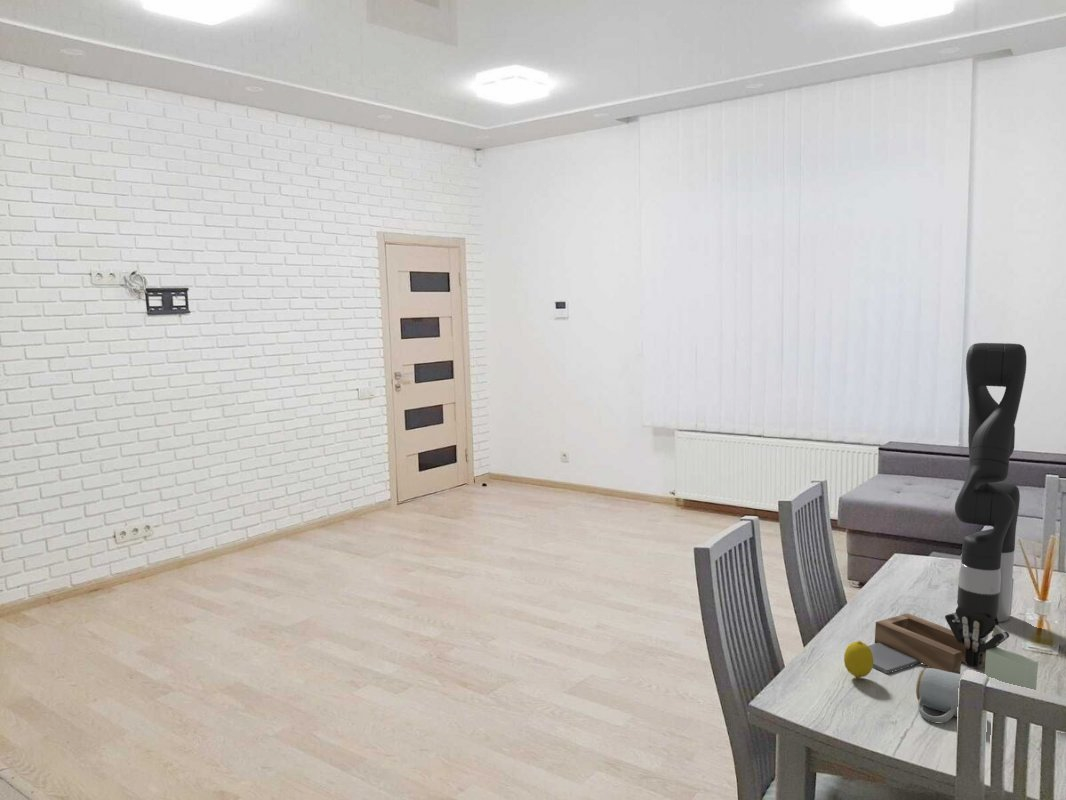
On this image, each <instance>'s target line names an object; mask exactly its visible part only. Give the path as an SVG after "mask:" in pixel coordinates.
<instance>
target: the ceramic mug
mask: <svg viewBox="0 0 1066 800" xmlns="http://www.w3.org/2000/svg"><path fill="white" fill-rule="evenodd" d="M962 675H963V674H962V673H960V674H957V673H952V672H947V671H943V670H939V669H934V668H930V667H925V668H923V669H922V670H921V671H920V672H919V674H918V677H917V681H916V685H915V686H916V687H915V694H916V698H917V700H918V703H917V707H918V712H919V715H920V716H921V717H922V718H923V719H924V718H925V720H926V721H928V720H929V721H928V722H930V721H933V722H943V723H946V722H948V721H950V720H951V719H952V718H953V717H955V718H958V717H957V707H958V688H959V681H960V678H961V676H962ZM923 705H924V706H925V707H927V708H930V709H933V710H936V711H939V712H941V711H942V712H941V713H944V712H945V713H944V714H942V715H938V716H937V715H936V716H933V715H930V714H928V713H927V712H925V711H924V710H923V709H922V707H923ZM953 715H955V716H953ZM933 722H932V723H933Z"/></svg>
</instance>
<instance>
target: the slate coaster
mask: <svg viewBox="0 0 1066 800" xmlns="http://www.w3.org/2000/svg"><path fill="white" fill-rule="evenodd" d="M867 646H868V647H869V648H870V649H871V652H872V655H873V667H872V668H874V669H876V670H877V671H880V670H881V671H880V672H882V671H883V672H882V673H884V672H885V673H884V674H886V673H888V674H890V673H889V672H891V673H893V672H892V671H894V672H896V671H895V670H897V671H899V670H898V669H900V670H902V669H901V668H903V669H906V668H909V667H908V666H910V667H912V666H911V665H913V664H916V665H918V664H919V663H918V662H919V660H917V659H915V658H913V657H910V656H908V655H906V654H904V653H901V652H899V651H897V650H894V649H892V648H890V647H888V646H885V645H883V644H881V643H876V644H875V643H873V644H871V645H867ZM917 663H918V664H917ZM913 666H914V665H913ZM905 667H906V668H905Z"/></svg>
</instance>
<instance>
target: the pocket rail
mask: <svg viewBox="0 0 1066 800" xmlns="http://www.w3.org/2000/svg"><path fill="white" fill-rule="evenodd" d="M874 628H875V631H874V644H875V643H881V644H883V645H885V646H888V647H890V648H892V649H894V650H897V651H899V652H901V653H904V654H906V655H908V656H910V657H913V658H915V659H917V660H919V662H920V663H919V664H921V663H923V664H924V665H923V664H922V665H923V666H925V665H927V666H926V667H927V668H930V667H931V668H934V669H939V670H943V671H947V672H952V673H957V674H961V670H962V669H961V668H962V667H961V666H962V663H963V662H964V664H966V665H967V662H966V661H965V655H966V648H965V646H964V644H962V643H959V642H958V641H957V639H956V638H955V636H954V634H953V632H952V630H951V628H947V627H945V626H942V625H940V624H937V623H935V622H932V621H931V620H930V621H929V620H927V619H924V618H921V617H919V616H916V615H914V614H911V613H909V612H907V613H904V614H900V615H897V616H893V617H889V618H886V619H883V620H878V621H875V627H874ZM985 660H986V652H983V660H982V665H981V666H979V667H978V668H977V669H981V668H985ZM961 661H962V662H961Z"/></svg>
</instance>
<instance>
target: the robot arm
mask: <svg viewBox="0 0 1066 800" xmlns="http://www.w3.org/2000/svg"><path fill="white" fill-rule="evenodd" d="M965 359H966V360H965V372H966V373H965V375H966V384H967V392H968V393H967V394H968V408H969V409H968V429H967V430H968V431H967V432H968V433H967V435H968V440H967V441H968V456H969V464H968V465H969V466H968V471H967V475H966V478H965V480H964V483H963V485H962V487H961V489H960V491H959V493H958V495H957V498H956V501H955V504H954V513H955V515H956V517H957V518H958V520H959V521H960V522H962V523H965V524H969V525H978V526H979V525H980V526H985V527H992V528H990V529H983V530H979V531H976V532H974V533H973V534H972V533H971V534H968V535H966V536H964V537H963V538H962V539H963V541H962V549H961V560H960V561H961V562H960V568H959V572H958V583H957V585H958V586H957V596H956V597H957V600H956V604H957V607H956V609H955V612H951V613H949V614H946V615H945V616H944V619H945V621H946V622H947V624H948V626H949V629H950V630H952V632H953V634H954V636H955V638H956V639H957V641H958V642H959V643H962V644H964V646H965V648H966V655H965V661H966V662H967V664H966V665H967V666H968V667H969V668H972V669H978V667H979V666H981V665H982V660H983V652H986V650H988V649H991V648H994V647H997V646H999V645H1001V644H1002V643H1003V642H1004V641H1006V640H1007V639H1008V638H1010V634H1009V632H1008V631H1003V629H1001V627H1000V626H999V625H1000V623H1002V622H1007V621H1009V620H1010V615H1011V616H1012V607H1013V595H1014V577H1013V575H1014V574H1013V573H1014V563H1015V562H1014V561H1015V550H1016V548H1015V547H1016V531H1017V523H1018V515H1019V509H1020V503H1021V502H1020V500H1021V495H1020V489H1019V487H1018V486H1017V485H1016V484H1010V483H1003V482H1004V481H1005V480H1006V479H1007V478H1008V475H1009V469H1010V468H1009V466H1010V457H1011V456H1012V454H1013V453H1014V449H1015V442H1016V441H1015V439H1016V438H1015V436H1016V427H1015V424H1016V420H1017V416H1018V412H1019V409H1020V408H1019V407H1020V403H1021V398H1022V393H1023V388H1024V385H1025V384H1024V382H1025V378H1026V373H1027V372H1026V371H1027V351H1026V348H1025V347H1024V345H1023V344H1020V343H1008V342H1006V343H1005V342H1004V343H1003V342H1002V343H1000V342H977V343H973V344H972V345H970V346H969V348H968V350H967V353H966V358H965ZM988 387H1000V388H1001V387H1004V388H1005V390H1004V394H1003V396H1002V399H1001V400H1000V402H999V403H998V402H997V401H996V400H995V399H994V397H993V396H992V394H991V393H990V390H989V389H988ZM991 633H992V634H991ZM990 634H991V638H990V639H989V635H990ZM988 639H989V640H988ZM987 640H988V641H987Z"/></svg>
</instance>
